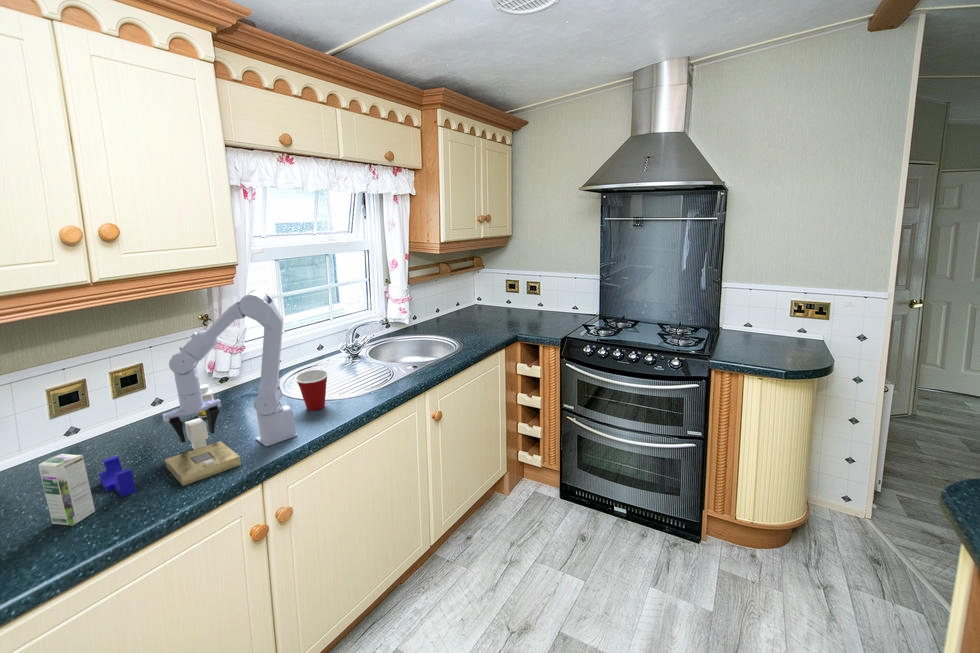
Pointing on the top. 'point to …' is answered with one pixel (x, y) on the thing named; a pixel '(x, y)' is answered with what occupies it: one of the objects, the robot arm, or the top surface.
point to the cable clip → (117, 477)
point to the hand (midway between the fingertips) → (197, 436)
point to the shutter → (202, 458)
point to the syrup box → (66, 489)
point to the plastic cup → (313, 388)
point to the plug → (196, 432)
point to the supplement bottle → (205, 398)
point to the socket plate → (202, 463)
